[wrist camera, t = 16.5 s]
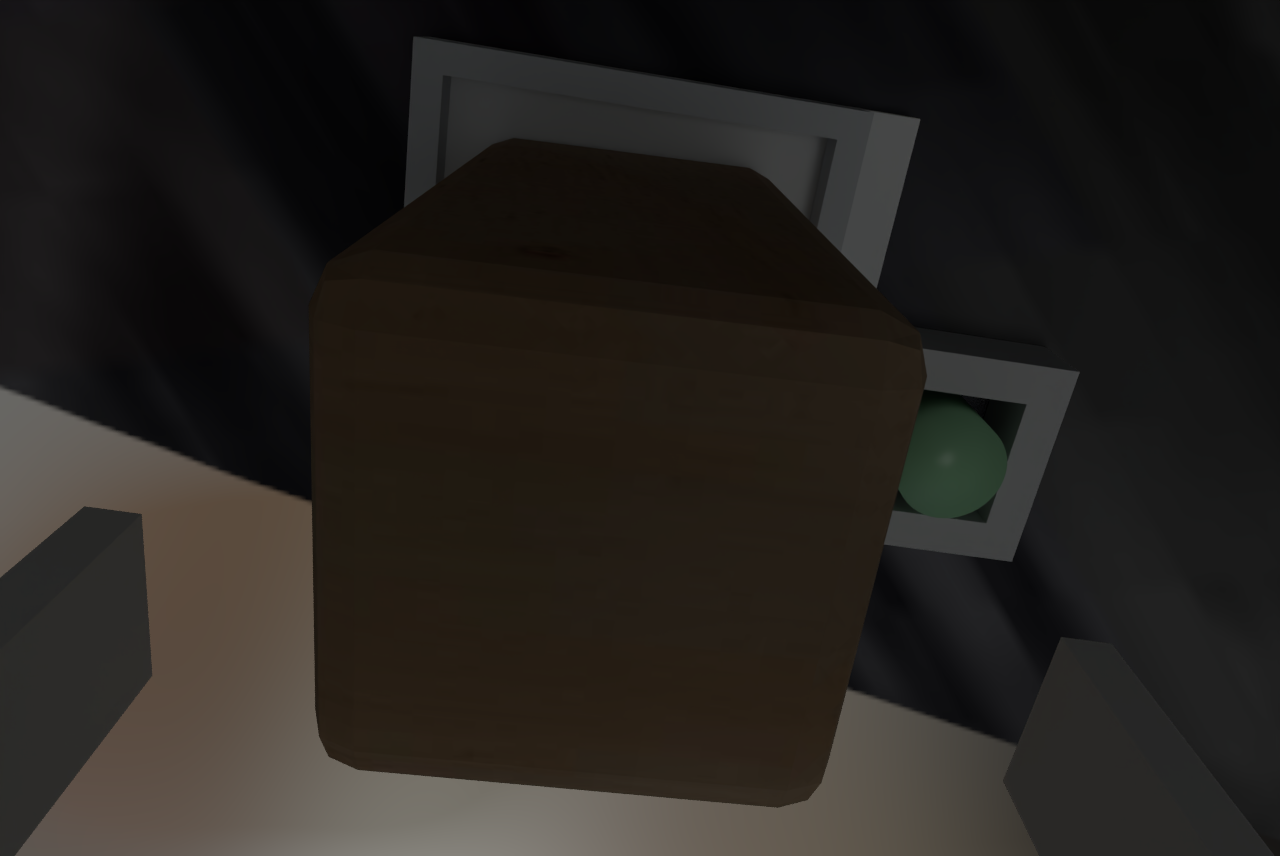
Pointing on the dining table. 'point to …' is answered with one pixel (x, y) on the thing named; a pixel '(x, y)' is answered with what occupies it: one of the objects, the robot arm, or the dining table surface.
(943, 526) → the button housing
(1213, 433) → the dining table surface
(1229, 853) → the robot arm
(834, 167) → the shallow gray rectangular tray
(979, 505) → the button
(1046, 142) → the dining table surface
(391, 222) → the wooden block
